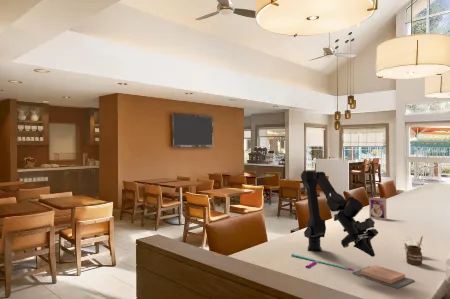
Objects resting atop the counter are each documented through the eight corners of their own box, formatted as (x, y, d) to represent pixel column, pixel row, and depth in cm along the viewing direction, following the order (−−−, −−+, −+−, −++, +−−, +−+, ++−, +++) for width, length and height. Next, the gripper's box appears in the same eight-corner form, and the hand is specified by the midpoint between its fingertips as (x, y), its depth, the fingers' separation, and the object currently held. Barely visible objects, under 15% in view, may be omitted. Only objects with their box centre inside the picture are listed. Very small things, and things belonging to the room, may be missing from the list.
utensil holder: (404, 260, 144) (404, 233, 144) (420, 261, 142) (420, 234, 143) (408, 264, 139) (407, 236, 139) (424, 266, 137) (424, 237, 137)
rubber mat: (352, 273, 129) (352, 272, 129) (369, 267, 136) (369, 266, 136) (397, 288, 114) (397, 287, 114) (414, 281, 121) (414, 279, 121)
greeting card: (368, 218, 235) (368, 197, 235) (373, 216, 240) (373, 196, 240) (385, 220, 227) (385, 199, 227) (389, 219, 232) (389, 198, 232)
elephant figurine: (417, 252, 155) (416, 237, 155) (424, 258, 146) (424, 243, 146) (399, 251, 157) (399, 236, 157) (406, 257, 148) (405, 242, 148)
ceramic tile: (360, 270, 127) (390, 279, 117) (375, 264, 133) (404, 273, 123) (360, 274, 127) (391, 284, 117) (375, 268, 133) (404, 278, 123)
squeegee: (281, 258, 145) (292, 253, 152) (281, 262, 145) (292, 256, 152) (344, 275, 126) (353, 268, 133) (344, 280, 126) (353, 272, 133)
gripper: (347, 214, 127) (374, 249, 118) (373, 209, 138) (400, 241, 129) (330, 230, 134) (355, 264, 124) (357, 224, 144) (381, 255, 135)
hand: (373, 256), depth 128 cm, fingers closed
